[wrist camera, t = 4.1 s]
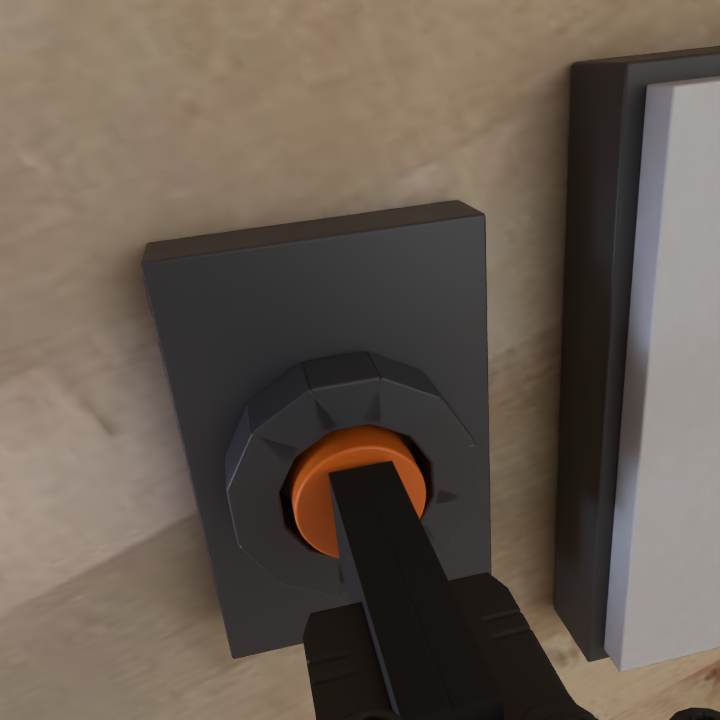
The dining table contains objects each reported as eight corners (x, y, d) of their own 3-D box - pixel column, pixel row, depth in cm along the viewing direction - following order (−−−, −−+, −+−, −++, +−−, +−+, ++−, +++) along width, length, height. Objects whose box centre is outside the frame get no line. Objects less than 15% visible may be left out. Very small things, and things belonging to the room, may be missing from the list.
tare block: (146, 242, 17) (132, 284, 13) (459, 199, 18) (514, 227, 15) (230, 613, 22) (234, 707, 18) (471, 560, 23) (513, 640, 20)
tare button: (278, 424, 17) (285, 461, 15) (403, 401, 17) (423, 434, 16) (295, 528, 18) (303, 572, 17) (411, 504, 19) (430, 545, 17)
